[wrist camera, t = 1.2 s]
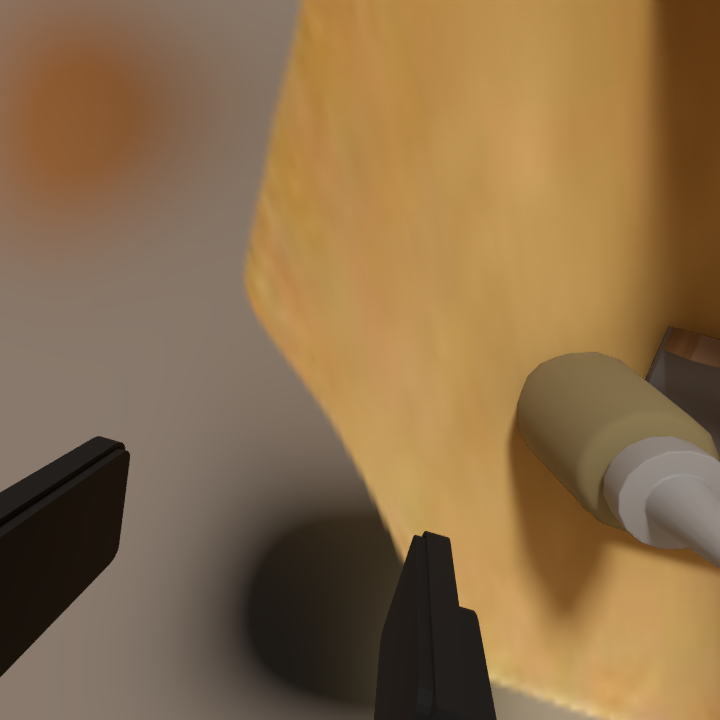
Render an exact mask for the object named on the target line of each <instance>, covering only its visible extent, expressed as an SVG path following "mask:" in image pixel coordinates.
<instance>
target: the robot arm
mask: <svg viewBox="0 0 720 720" xmlns="http://www.w3.org/2000/svg"><path fill="white" fill-rule="evenodd" d="M129 461H130V454H129V452H128V451H126V450H125V446H124V444H123V443H121V442H118V441H114V440H111V439H107V438H104V437H100V436H97V437H95V438H93V439H91V440H89V441H87V442H86V443H84V444H82V445H81V446H79V447H77V448H75V449H74V450H72V451H70V452H69V453H67V454H65V455H63V456H62V457H60V458H58V459H57V460H55V461H53V462H52V463H50V464H49V465H47V466H45V467H43V468H41V469H40V470H38V471H36V472H34V473H33V474H31V475H29V476H28V477H26V478H24V479H22V480H21V481H19V482H17V483H16V484H14V485H13V486H10V487H9V488H7V489H5V490H4V491H2V492H0V677H1V676H2V675H3V674H4V673H5V672H6V671H7V670H8V669H9V668H10V667H11V665H12V664H14V662H15V661H16V660H17V659H18V658H19V657H20V656H21V655H22V654H23V653H24V652H25V651H26V650H27V649H28V648H29V647H30V646H31V645H32V644H33V643H34V642H35V640H37V639H38V638H39V636H41V634H42V633H43V632H44V631H45V630H46V629H47V628H48V627H49V626H50V625H51V624H52V623H53V622H54V621H55V620H56V619H57V618H58V617H59V616H60V615H61V614H62V613H63V612H64V611H65V610H66V609H67V608H68V607H69V606H70V604H71V603H72V602H73V601H74V600H75V599H76V598H77V597H78V596H79V595H80V594H81V593H82V592H83V591H84V590H85V589H86V588H87V587H88V586H89V585H90V584H91V583H92V582H93V581H94V580H95V578H97V577H98V576H99V574H100V573H101V572H102V571H103V570H104V569H105V568H106V567H107V566H108V565H109V564H110V563H111V562H112V560H113V559H114V557H115V555H116V553H117V551H118V548H119V540H120V533H121V525H122V517H123V509H124V501H125V493H126V485H127V477H128V469H129ZM374 720H496V714H495V709H494V703H493V698H492V692H491V687H490V681H489V676H488V670H487V665H486V659H485V654H484V649H483V643H482V638H481V632H480V627H479V621H478V618H477V614H476V613H475V611H473V610H470V609H467V608H463V607H460V606H459V601H458V594H457V587H456V579H455V572H454V565H453V557H452V550H451V543H450V539H449V538H448V537H445V536H441V535H438V534H434V533H431V532H428V531H425V532H424V533H423V535H422V537H421V536H417V535H414V537H413V539H412V542H411V545H410V548H409V551H408V554H407V557H406V560H405V563H404V566H403V569H402V572H401V575H400V579H399V581H398V584H397V588H396V591H395V594H394V597H393V600H392V603H391V606H390V609H389V612H388V615H387V618H386V621H385V624H384V627H383V631H382V635H381V641H380V650H379V664H378V676H377V688H376V703H375V714H374Z"/></svg>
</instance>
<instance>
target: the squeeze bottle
mask: <svg viewBox="0 0 720 720" xmlns="http://www.w3.org/2000/svg"><path fill="white" fill-rule="evenodd" d="M518 428H519V430H520V432H521V434H522V436H523V438H524V440H525V442H526V444H527V446H528V447H529V449H530V450H531V451H532V452H533V453H534V454H535V455H536V456H537V457H538V458H539V459H540V460H541V462H542V463H543V464H544V465H545V466H546V467H547V468H548V469H549V470H550V471H551V472H552V473H553V475H554V476H555V477H556V478H557V479H558V480H559V481H560V482H561V483H562V484H563V485H564V486H565V488H566V489H567V490H568V491H569V492H570V493H571V494H572V495H573V496H574V497H575V498H576V500H577V501H578V502H579V503H580V504H581V505H582V506H583V507H584V508H585V509H586V510H588V511H589V512H590V513H591V514H592V515H593V516H595V517H596V518H597V519H598V520H599V521H600V522H602V523H604V524H607V525H610V526H613V527H616V528H619V529H622V530H624V531H628V532H629V533H630V534H631V535H632V536H634V537H635V538H636V539H637V540H638V541H639V542H641V543H644V544H647V545H650V546H653V547H656V548H659V549H685V548H689V549H691V550H692V551H694V552H695V553H697V554H698V555H700V556H701V557H703V558H704V559H706V560H707V561H709V562H710V563H712V564H713V565H715V566H716V567H718V568H720V462H719V455H718V452H717V450H716V447H715V445H714V442H713V440H712V437H711V434H710V433H709V432H707V431H706V430H705V429H704V428H703V427H702V426H701V425H700V424H698V423H697V422H696V421H695V420H694V419H693V418H692V417H691V416H689V415H688V414H687V413H686V412H684V411H683V410H682V409H681V408H679V407H678V406H677V405H676V404H674V403H673V402H672V401H671V400H669V399H668V398H667V397H666V396H664V395H663V394H662V393H661V392H659V391H658V390H657V389H656V388H654V387H653V386H652V385H651V384H649V383H648V382H647V381H646V380H645V379H643V378H642V377H641V376H640V375H638V374H637V373H636V372H635V371H633V370H632V369H631V368H630V367H628V366H627V365H626V364H625V363H623V362H622V361H621V360H619V359H616V358H613V357H610V356H607V355H603V354H600V353H597V352H587V353H571V354H566V355H562V356H559V357H555V358H553V359H551V360H549V361H546V362H544V363H542V364H540V365H539V366H538V367H537V368H536V369H535V370H534V371H533V372H532V373H531V374H530V375H529V376H528V377H527V380H526V382H525V384H524V387H523V389H522V391H521V395H520V398H519V401H518Z"/></svg>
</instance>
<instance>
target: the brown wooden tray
mask: <svg viewBox="0 0 720 720" xmlns="http://www.w3.org/2000/svg"><path fill="white" fill-rule="evenodd" d="M645 380H646V381H647V382H648V383H649V384H651V385H652V386H653V387H654V388H656V389H657V390H658V391H659V392H661V393H662V394H663V395H664V396H666V397H667V398H668V399H669V400H671V401H672V402H673V403H674V404H676V405H677V406H678V407H679V408H681V409H682V410H683V411H684V412H686V413H687V414H688V415H689V416H691V417H692V418H693V419H694V420H695V421H696V422H697V423H698V424H700V425H701V426H702V427H703V428H704V429H705V430H706V431H707V432H709V433H710V434H711V437H712V440H713V442H714V445H715V447H716V450H717V452H718V455H719V462H720V340H719V339H716V338H712V337H708V336H704V335H700V334H697V333H693V332H689V331H685V330H681V329H678V328H674V327H670V326H669V328H668V330H667V332H666V334H665V337H664V339H663V341H662V343H661V346H660V348H659V350H658V352H657V355H656V357H655V359H654V361H653V364H652V366H651V368H650V370H649V373H648V375H647V377H646V379H645Z"/></svg>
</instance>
